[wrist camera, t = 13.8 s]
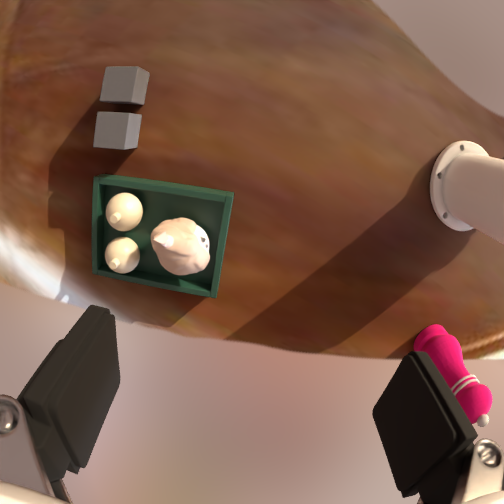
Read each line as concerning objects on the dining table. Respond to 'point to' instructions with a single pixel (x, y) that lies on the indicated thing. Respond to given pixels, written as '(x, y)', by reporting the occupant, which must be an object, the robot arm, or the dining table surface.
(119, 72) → the grey block
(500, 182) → the robot arm
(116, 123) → the grey block
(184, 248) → the garlic bulb
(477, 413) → the pepper mill
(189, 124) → the dining table surface
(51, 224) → the dining table surface
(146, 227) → the green tray
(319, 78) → the dining table surface
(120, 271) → the white bulb
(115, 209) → the white bulb
